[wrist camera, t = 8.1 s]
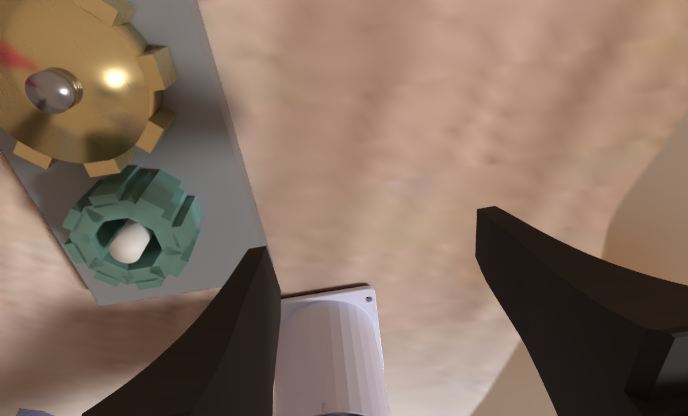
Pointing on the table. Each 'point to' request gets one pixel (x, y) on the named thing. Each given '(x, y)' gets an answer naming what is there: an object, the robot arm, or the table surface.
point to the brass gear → (81, 83)
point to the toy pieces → (31, 413)
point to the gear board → (167, 166)
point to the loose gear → (144, 208)
